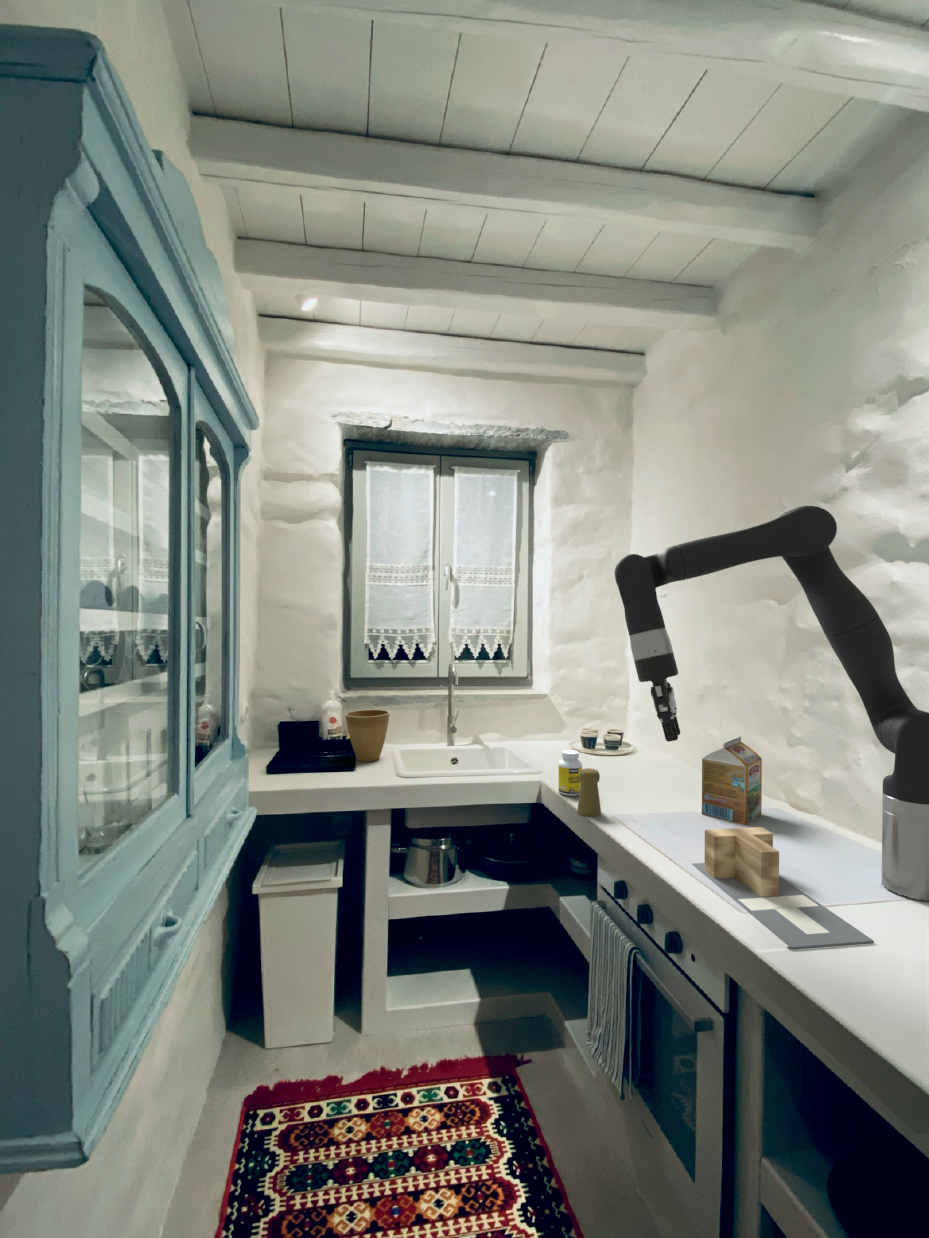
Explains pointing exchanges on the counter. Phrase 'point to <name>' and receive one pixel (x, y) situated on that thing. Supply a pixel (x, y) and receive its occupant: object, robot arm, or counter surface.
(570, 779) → the pill bottle
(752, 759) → the milk carton
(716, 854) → the oak T block
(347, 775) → the counter surface
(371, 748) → the plant pot
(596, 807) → the tan rounded upright piece
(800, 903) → the slate mat
